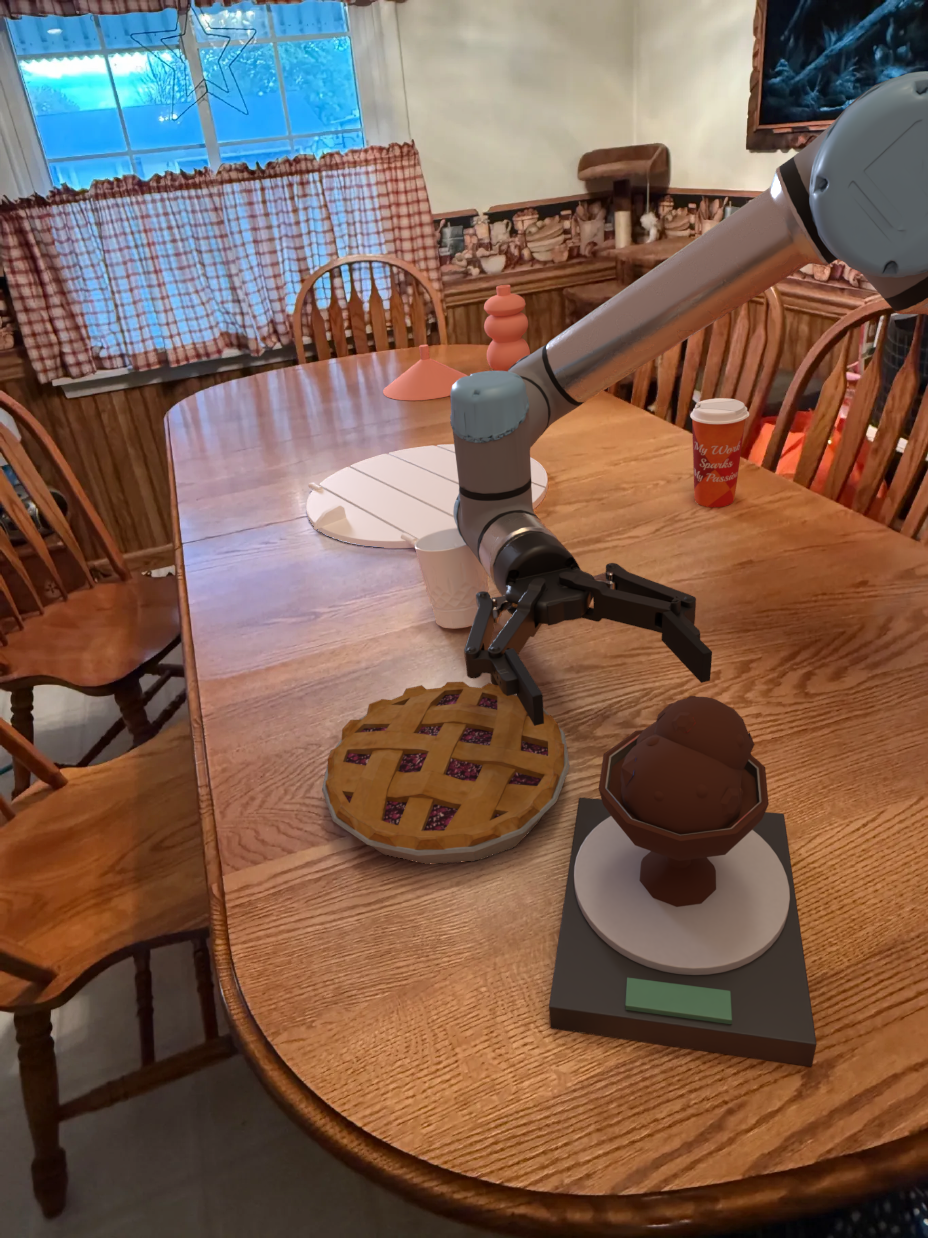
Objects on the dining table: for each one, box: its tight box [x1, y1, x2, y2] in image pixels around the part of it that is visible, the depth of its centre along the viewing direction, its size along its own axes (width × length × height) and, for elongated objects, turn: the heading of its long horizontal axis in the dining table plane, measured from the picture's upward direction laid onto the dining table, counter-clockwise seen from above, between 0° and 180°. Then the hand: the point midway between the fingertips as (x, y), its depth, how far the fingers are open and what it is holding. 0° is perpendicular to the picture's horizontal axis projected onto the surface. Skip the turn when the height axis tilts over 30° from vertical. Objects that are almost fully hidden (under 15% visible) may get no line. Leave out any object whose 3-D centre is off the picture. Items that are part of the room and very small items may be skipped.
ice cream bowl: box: [598, 695, 770, 907], centre depth 55 cm, size 11×11×15 cm
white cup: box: [414, 528, 490, 630], centre depth 96 cm, size 8×8×10 cm
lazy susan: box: [305, 443, 549, 549], centre depth 132 cm, size 40×39×3 cm
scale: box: [548, 797, 818, 1067], centre depth 59 cm, size 16×19×3 cm
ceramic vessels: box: [382, 284, 531, 401], centre depth 184 cm, size 35×21×19 cm, turn 105°
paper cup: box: [689, 397, 750, 508], centre depth 116 cm, size 8×8×14 cm
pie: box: [321, 681, 570, 865], centre depth 73 cm, size 22×22×5 cm
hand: (624, 688), depth 61 cm, fingers open, 13 cm apart
